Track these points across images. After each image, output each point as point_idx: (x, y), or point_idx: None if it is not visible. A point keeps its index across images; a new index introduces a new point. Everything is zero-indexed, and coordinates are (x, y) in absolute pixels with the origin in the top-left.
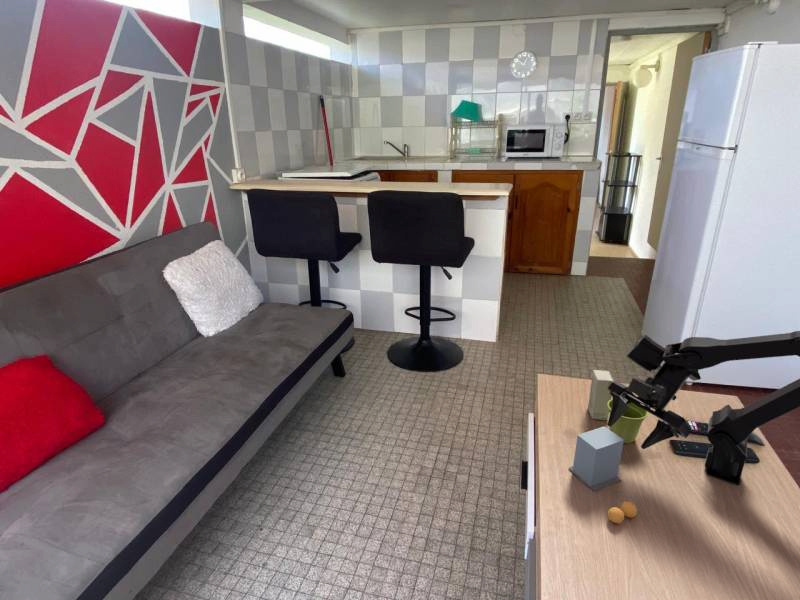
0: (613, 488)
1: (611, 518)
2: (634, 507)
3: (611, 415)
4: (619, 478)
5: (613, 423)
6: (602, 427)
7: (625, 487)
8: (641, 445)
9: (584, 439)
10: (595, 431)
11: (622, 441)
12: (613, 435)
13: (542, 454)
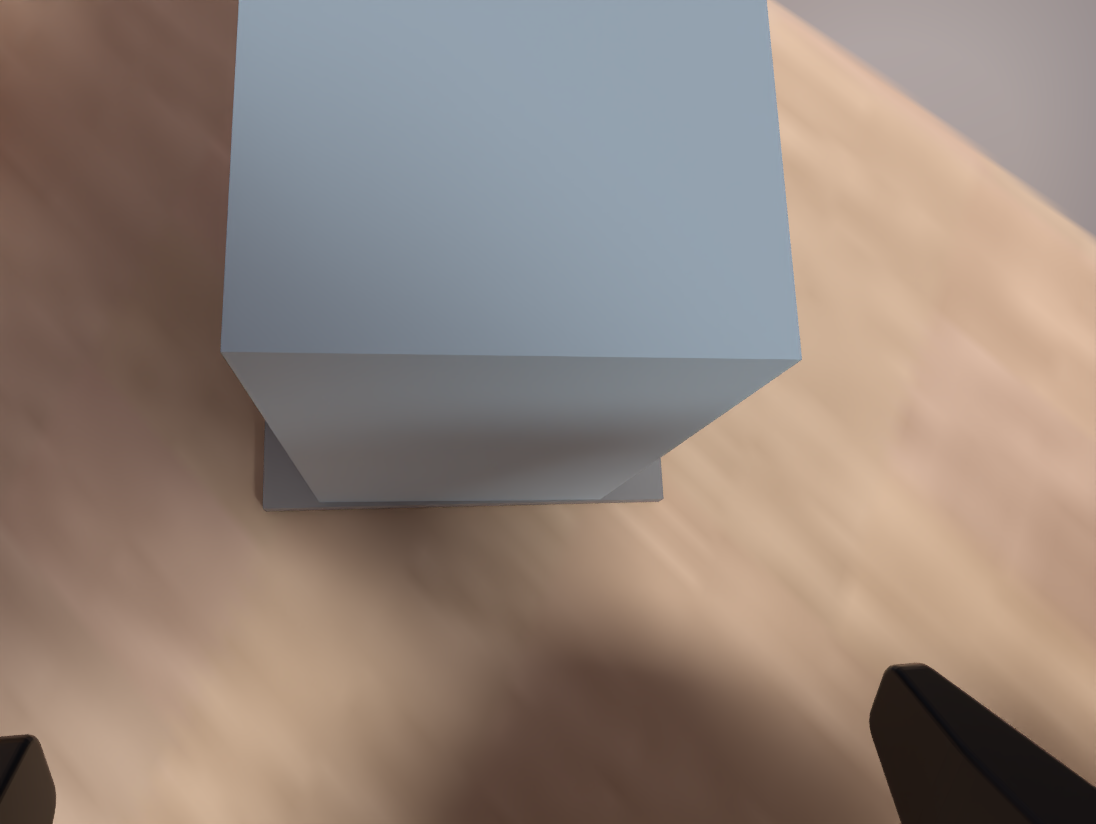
0: (218, 343)
1: None
2: None
3: (1088, 814)
4: (283, 500)
5: (912, 821)
6: (778, 291)
7: (165, 472)
8: (21, 751)
9: None
10: (713, 60)
11: (226, 320)
12: (455, 272)
13: (894, 92)
